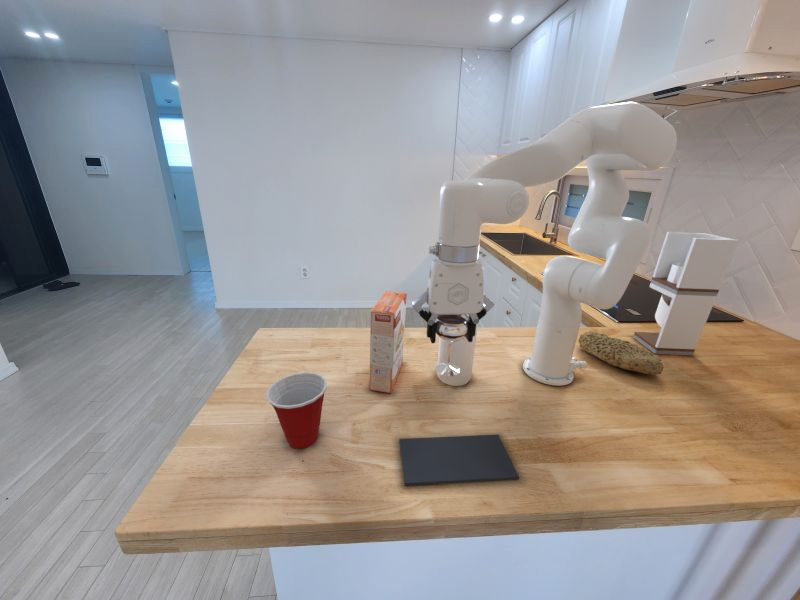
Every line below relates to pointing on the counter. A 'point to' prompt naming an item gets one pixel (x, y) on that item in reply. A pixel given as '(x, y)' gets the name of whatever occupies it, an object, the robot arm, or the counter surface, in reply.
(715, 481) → the counter surface
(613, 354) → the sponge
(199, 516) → the counter surface
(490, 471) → the placemat
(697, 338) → the white shelf stand
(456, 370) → the wineglass
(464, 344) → the alcohol
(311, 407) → the plastic cup
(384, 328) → the cracker box
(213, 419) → the counter surface
